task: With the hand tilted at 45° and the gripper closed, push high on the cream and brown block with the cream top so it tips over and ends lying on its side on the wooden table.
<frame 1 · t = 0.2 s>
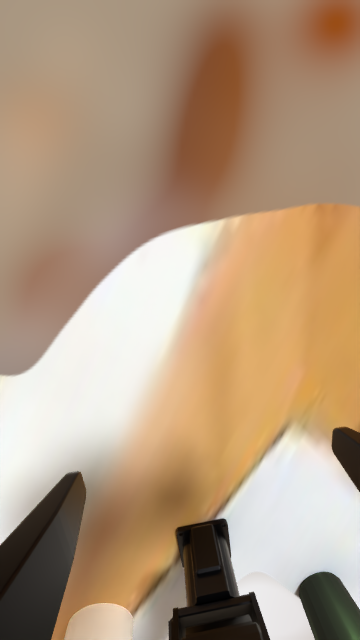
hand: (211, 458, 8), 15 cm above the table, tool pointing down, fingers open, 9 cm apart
potion bottle: (317, 584, 32), on the table
white cutaway cylinder: (101, 622, 30), on the table
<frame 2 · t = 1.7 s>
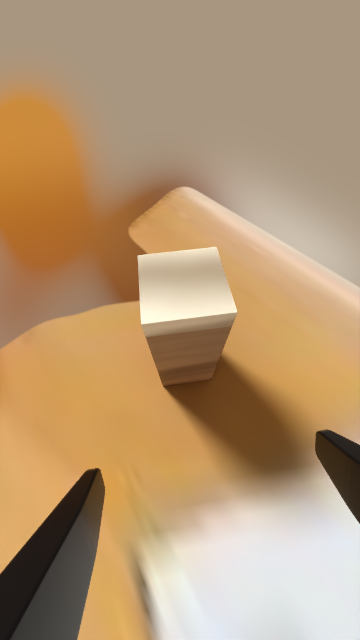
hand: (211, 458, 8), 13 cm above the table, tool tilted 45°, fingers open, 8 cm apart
cream and brown block: (183, 360, 24), on the table
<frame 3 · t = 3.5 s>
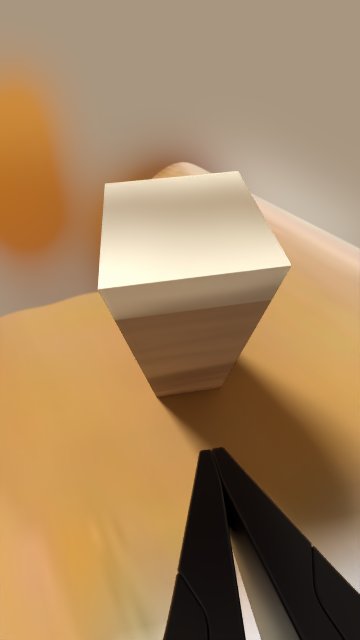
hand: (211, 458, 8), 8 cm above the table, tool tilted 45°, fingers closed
cream and brown block: (184, 361, 18), on the table
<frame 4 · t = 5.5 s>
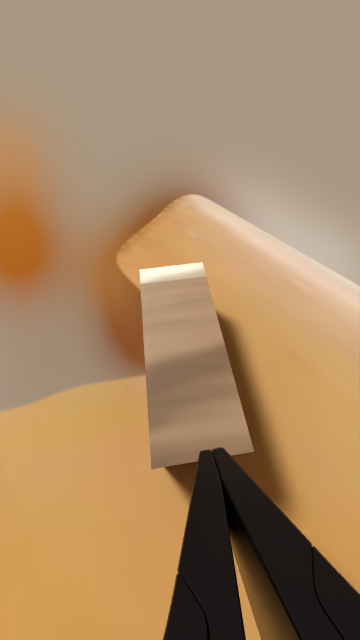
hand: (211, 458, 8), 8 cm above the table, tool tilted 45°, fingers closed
cream and brown block: (200, 458, 12), point 2 cm above the table, tilted 90°
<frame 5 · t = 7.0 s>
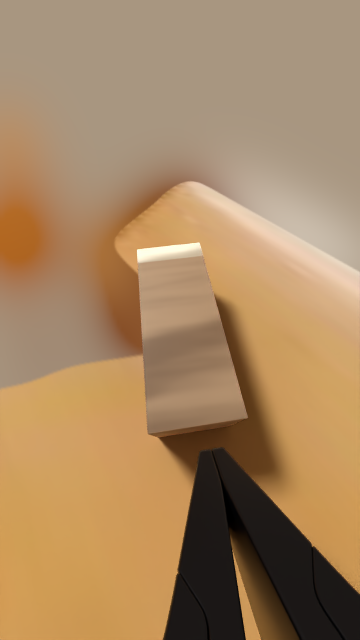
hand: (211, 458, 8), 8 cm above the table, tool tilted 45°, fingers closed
cream and brown block: (196, 429, 13), point 2 cm above the table, tilted 90°
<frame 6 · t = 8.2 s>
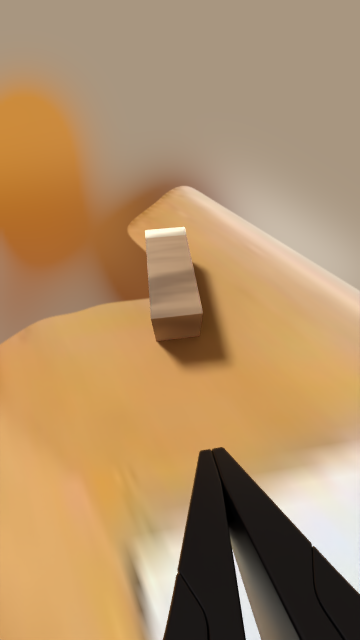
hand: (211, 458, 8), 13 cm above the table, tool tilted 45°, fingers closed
cream and brown block: (177, 328, 23), point 2 cm above the table, tilted 90°
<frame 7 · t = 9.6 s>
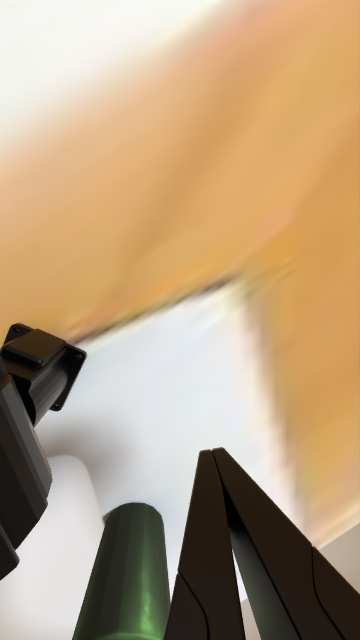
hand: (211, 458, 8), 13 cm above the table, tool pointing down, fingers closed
potion bottle: (135, 520, 25), on the table
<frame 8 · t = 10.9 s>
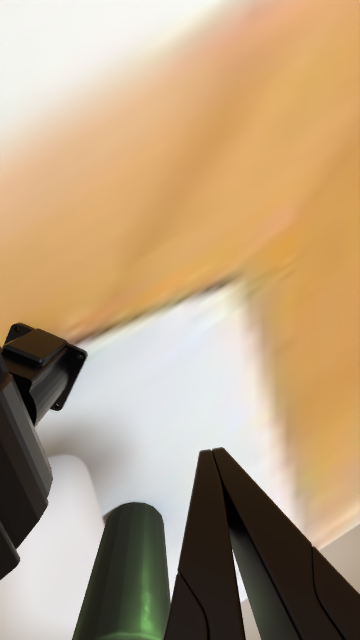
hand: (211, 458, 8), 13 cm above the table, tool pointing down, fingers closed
potion bottle: (135, 520, 25), on the table
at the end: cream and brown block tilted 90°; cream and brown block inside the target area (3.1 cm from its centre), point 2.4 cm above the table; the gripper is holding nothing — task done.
